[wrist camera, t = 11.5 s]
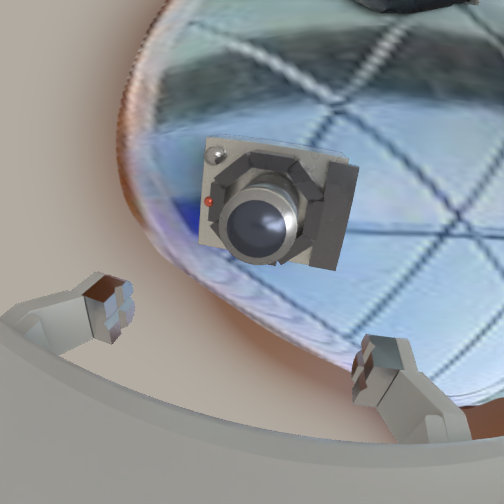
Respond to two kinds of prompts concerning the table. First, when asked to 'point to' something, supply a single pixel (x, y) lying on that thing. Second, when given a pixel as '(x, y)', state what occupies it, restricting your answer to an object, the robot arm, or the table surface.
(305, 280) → the table surface
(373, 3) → the electronic device
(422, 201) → the table surface
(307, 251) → the camera body
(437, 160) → the table surface
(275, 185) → the lens
